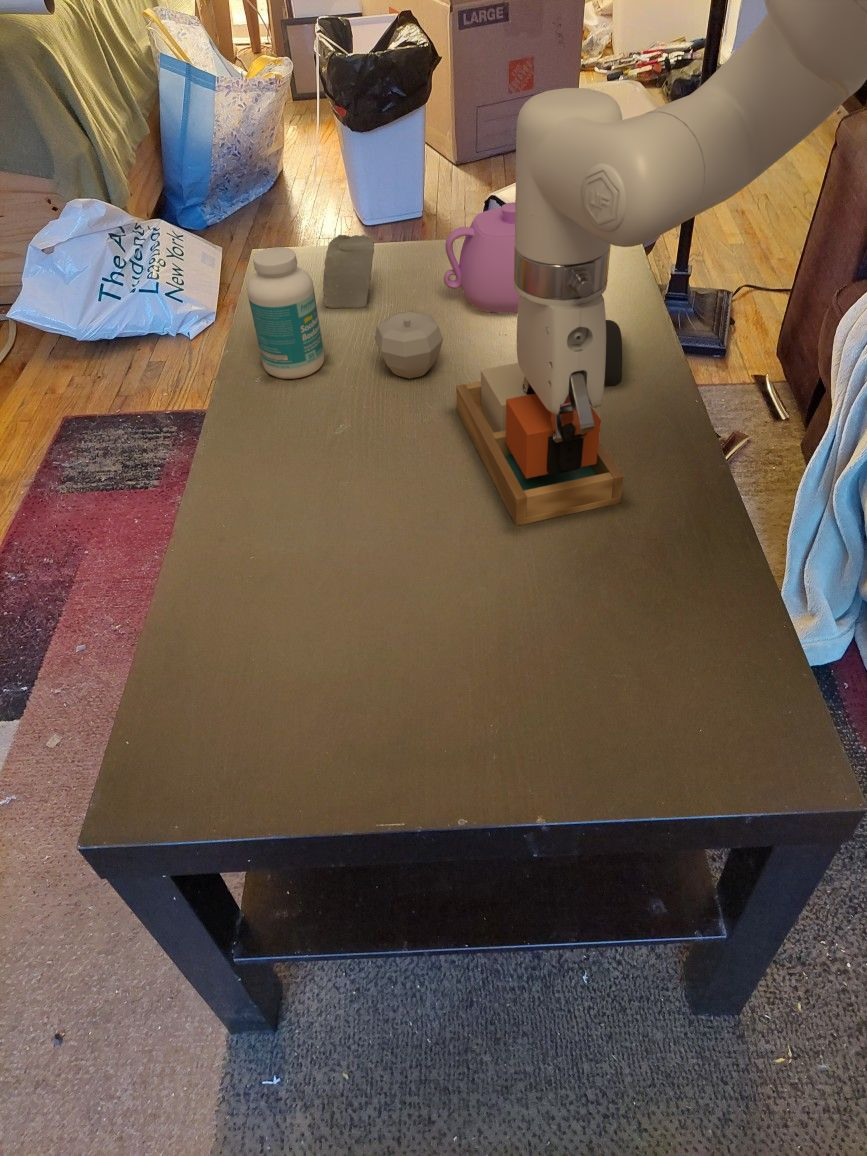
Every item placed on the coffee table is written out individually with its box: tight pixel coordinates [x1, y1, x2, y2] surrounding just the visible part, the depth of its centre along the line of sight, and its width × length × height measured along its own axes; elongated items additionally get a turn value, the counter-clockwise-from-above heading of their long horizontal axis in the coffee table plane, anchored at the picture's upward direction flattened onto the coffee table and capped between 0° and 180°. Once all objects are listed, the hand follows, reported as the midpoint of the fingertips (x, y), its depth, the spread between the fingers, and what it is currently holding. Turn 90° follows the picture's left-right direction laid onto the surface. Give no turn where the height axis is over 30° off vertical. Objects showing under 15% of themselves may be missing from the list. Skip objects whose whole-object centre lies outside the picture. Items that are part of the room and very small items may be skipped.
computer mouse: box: [604, 319, 623, 387], centre depth 97 cm, size 6×11×4 cm, turn 174°
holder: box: [455, 380, 625, 527], centre depth 85 cm, size 10×20×3 cm, turn 15°
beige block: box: [480, 362, 525, 433], centre depth 87 cm, size 6×7×5 cm
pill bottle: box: [246, 246, 325, 380], centre depth 96 cm, size 8×7×14 cm
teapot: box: [443, 201, 519, 314], centre depth 106 cm, size 20×13×12 cm, turn 97°
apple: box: [374, 310, 444, 380], centre depth 97 cm, size 8×8×7 cm
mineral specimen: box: [322, 234, 375, 309], centre depth 110 cm, size 7×9×8 cm
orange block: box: [506, 393, 602, 479], centre depth 79 cm, size 7×6×5 cm
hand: (550, 448), depth 80 cm, fingers closed on orange block, 6 cm apart
